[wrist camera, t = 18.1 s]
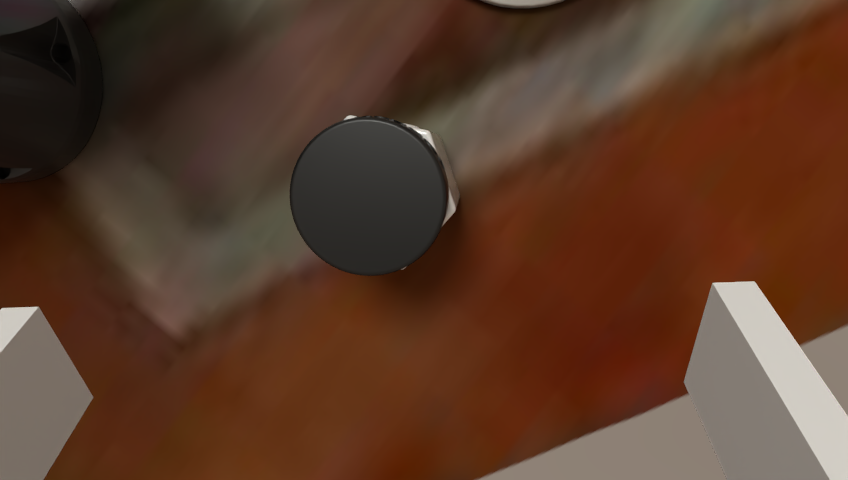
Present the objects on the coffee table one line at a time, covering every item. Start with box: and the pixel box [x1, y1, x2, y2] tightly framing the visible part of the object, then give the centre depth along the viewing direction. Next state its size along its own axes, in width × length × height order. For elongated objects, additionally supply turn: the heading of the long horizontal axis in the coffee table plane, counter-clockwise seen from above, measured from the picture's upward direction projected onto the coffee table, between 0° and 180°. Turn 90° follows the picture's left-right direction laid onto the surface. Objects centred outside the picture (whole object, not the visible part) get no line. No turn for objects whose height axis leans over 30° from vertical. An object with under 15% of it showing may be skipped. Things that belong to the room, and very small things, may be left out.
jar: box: [290, 115, 460, 276], centre depth 35 cm, size 9×8×12 cm
